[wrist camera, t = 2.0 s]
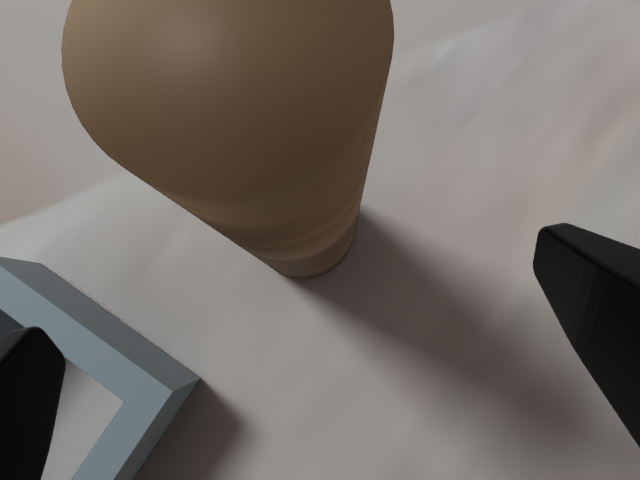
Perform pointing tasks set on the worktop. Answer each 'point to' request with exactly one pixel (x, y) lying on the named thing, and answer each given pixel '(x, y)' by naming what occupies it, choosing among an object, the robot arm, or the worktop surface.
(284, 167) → the walnut plug
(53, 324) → the socket block
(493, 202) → the worktop surface
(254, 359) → the worktop surface
